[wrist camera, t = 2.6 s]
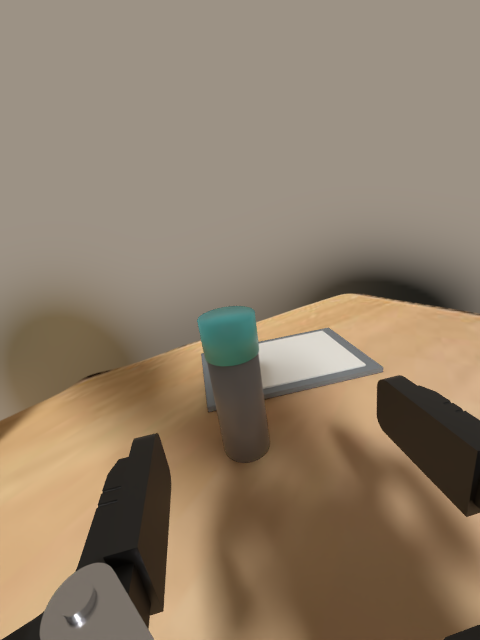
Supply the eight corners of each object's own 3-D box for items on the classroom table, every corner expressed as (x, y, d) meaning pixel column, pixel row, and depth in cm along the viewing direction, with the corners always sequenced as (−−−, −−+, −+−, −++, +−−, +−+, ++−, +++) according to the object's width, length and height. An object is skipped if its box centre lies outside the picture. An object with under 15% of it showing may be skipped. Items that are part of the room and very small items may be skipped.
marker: (226, 469, 22) (198, 331, 18) (220, 432, 26) (196, 312, 22) (277, 456, 23) (260, 319, 19) (263, 422, 27) (248, 302, 23)
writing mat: (208, 412, 29) (207, 405, 29) (201, 357, 41) (201, 352, 41) (382, 371, 32) (383, 365, 31) (328, 331, 44) (328, 326, 44)
